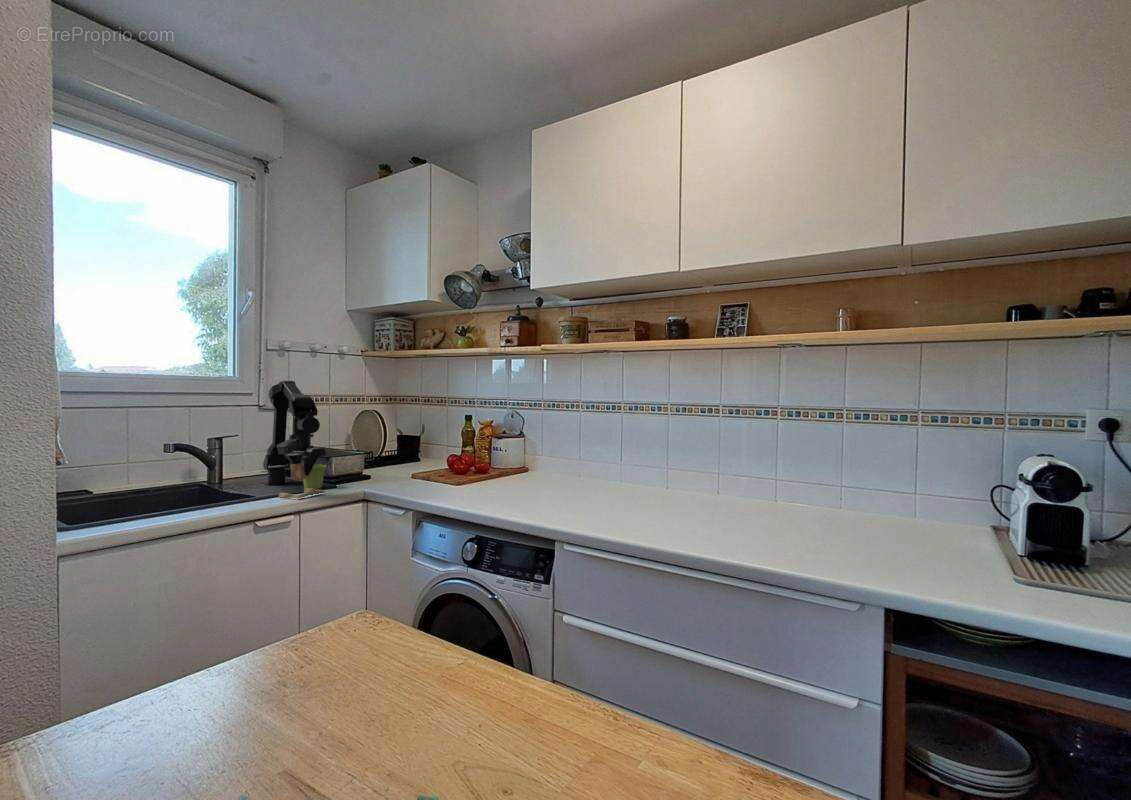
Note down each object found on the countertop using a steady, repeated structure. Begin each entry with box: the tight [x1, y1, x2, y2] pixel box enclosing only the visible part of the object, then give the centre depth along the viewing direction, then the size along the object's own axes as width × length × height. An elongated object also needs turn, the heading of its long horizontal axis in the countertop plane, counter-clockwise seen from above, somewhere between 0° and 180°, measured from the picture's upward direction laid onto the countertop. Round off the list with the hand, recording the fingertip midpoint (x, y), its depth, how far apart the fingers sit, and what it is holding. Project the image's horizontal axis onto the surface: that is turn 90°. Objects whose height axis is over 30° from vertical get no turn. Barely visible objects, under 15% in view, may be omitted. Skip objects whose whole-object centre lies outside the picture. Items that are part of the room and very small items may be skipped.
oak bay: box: [278, 487, 326, 499], centre depth 184 cm, size 10×11×2 cm
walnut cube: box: [290, 462, 313, 480], centre depth 184 cm, size 5×5×5 cm
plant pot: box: [302, 464, 327, 490], centre depth 198 cm, size 9×9×9 cm
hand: (301, 475), depth 184 cm, fingers closed on walnut cube, 5 cm apart
